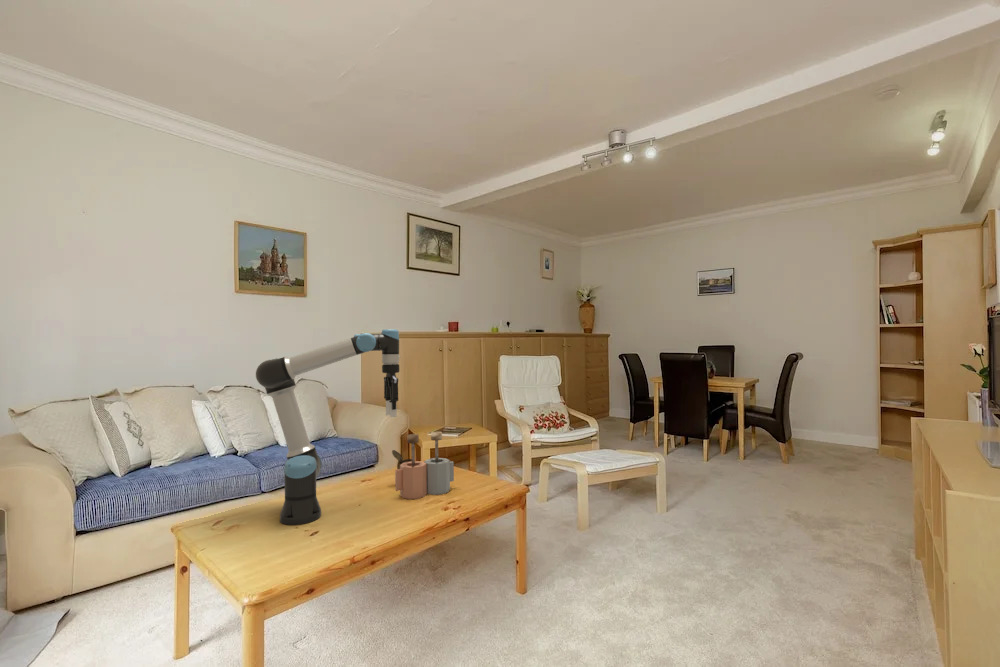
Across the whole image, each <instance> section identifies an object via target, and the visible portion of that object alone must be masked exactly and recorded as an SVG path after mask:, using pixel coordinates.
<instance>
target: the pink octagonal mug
mask: <svg viewBox="0 0 1000 667" xmlns="http://www.w3.org/2000/svg"><path fill="white" fill-rule="evenodd" d="M394 471H395V472H394V474H395V475H394V479H395V482H394V486H395V487H394V488H395V491H396V492H398V491H399V495H400V497H401V498H403V499H406V500H417V499H421V498H424V497H426V495H428V494H427V464H426V463H424V461H422V460H421V461H418V460H417V461H416V460H415V466H412V461H411V462H404V463H403V464H401V465H400V469H398V470H397V469H395V470H394Z"/></svg>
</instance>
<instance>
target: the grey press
mask: <svg viewBox="0 0 1000 667" xmlns="http://www.w3.org/2000/svg"><path fill="white" fill-rule="evenodd" d="M423 462H424V463H426V464H427V494H426V495H431V496H437V495H438V496H439V495H445V494H447V493H449V491H450V490H451V483H452V482H454V481H455V480H454V479H455V478H454V476H455V475H454V474H455V473H454V472H455V471H454V470H455V468H454V466H455V465H454V464H455V462H454V461H451V460H450V459H448V458H444V457H438V463H435V457H433V458H427V459H426V460H424V461H423Z"/></svg>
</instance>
